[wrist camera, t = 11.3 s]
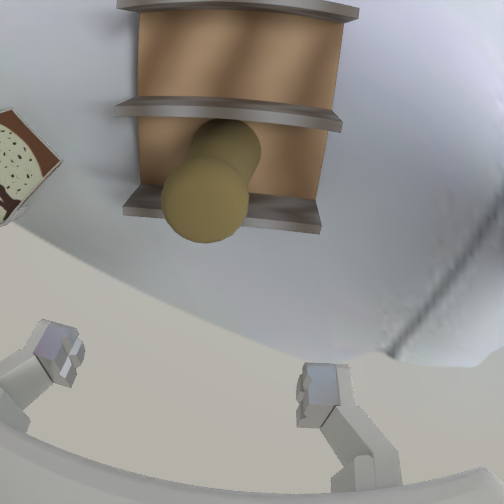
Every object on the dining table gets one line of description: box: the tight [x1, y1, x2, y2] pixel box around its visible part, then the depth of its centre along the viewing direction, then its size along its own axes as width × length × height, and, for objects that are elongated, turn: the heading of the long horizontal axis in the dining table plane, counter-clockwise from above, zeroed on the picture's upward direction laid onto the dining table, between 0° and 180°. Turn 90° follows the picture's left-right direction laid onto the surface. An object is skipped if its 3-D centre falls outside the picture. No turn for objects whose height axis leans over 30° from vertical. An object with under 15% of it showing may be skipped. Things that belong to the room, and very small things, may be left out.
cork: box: [161, 118, 261, 243], centre depth 22 cm, size 6×6×11 cm
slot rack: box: [115, 0, 359, 234], centre depth 23 cm, size 16×17×6 cm
